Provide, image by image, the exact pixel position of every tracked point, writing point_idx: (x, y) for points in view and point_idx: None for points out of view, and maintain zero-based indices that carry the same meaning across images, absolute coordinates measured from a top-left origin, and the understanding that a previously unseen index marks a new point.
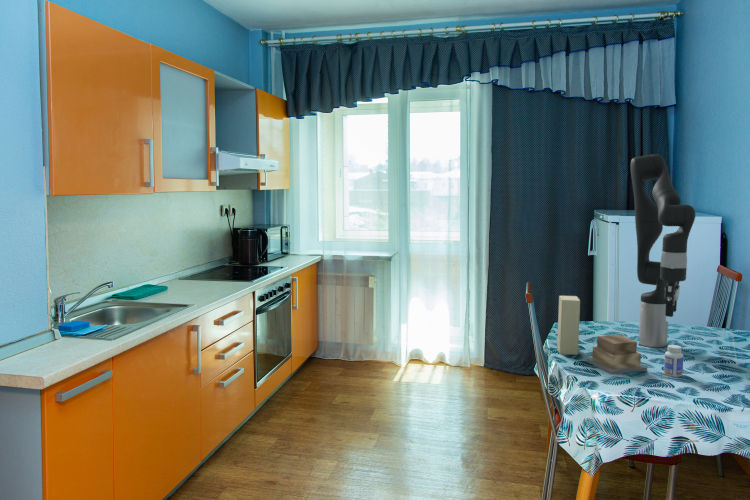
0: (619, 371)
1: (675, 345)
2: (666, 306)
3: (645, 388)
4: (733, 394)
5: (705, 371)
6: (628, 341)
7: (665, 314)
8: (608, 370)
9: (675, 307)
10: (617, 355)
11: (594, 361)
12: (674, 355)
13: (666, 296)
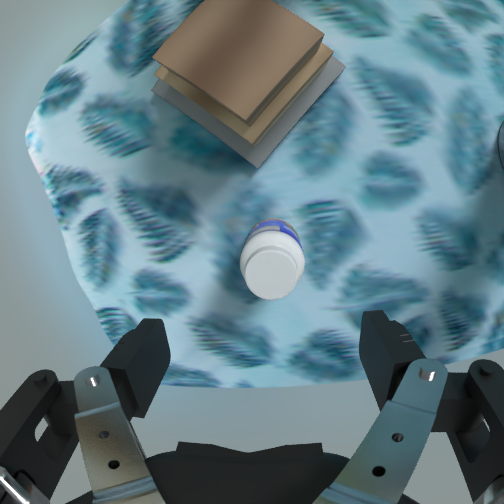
0: (175, 106)
1: (288, 277)
2: (114, 364)
3: (106, 204)
4: (206, 373)
5: (356, 312)
6: (227, 88)
7: (142, 321)
8: (158, 81)
9: (368, 371)
10: (174, 82)
11: None
12: (242, 270)
13: (4, 422)
